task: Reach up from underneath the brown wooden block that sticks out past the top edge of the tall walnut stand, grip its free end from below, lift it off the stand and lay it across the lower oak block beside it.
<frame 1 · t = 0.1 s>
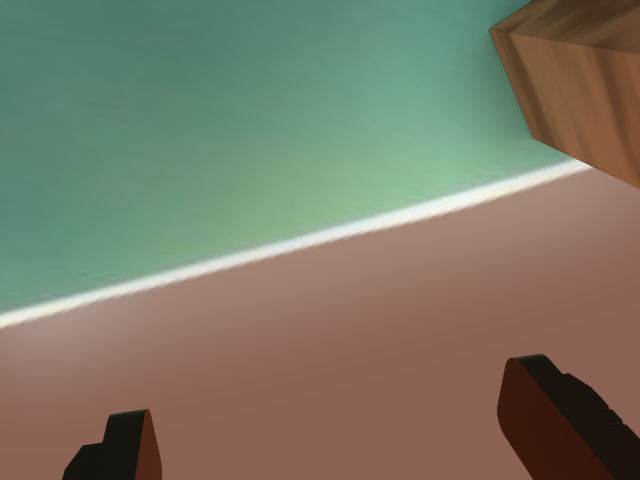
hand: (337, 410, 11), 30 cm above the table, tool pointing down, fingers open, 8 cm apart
low oak block: (567, 50, 40), on the table
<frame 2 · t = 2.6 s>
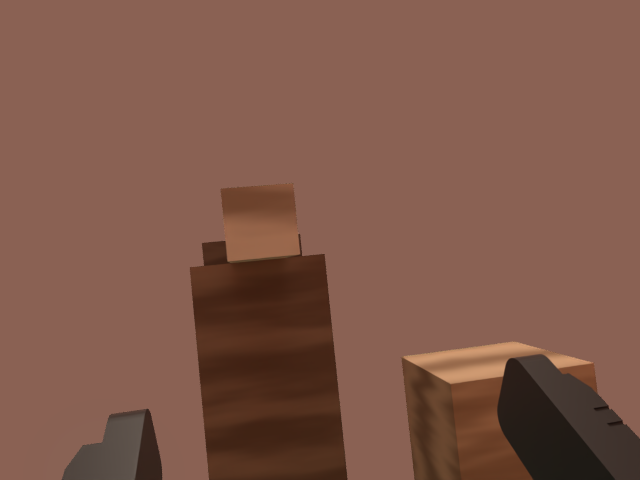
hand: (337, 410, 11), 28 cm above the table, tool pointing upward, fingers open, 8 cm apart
brown wooden block: (257, 260, 40), point 32 cm above the table, touching tall walnut stand
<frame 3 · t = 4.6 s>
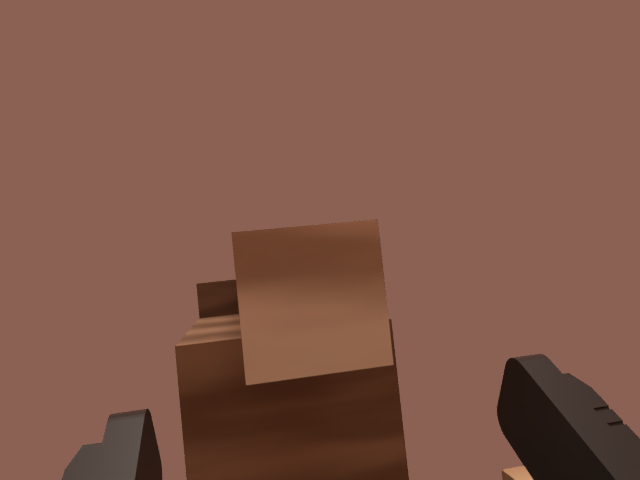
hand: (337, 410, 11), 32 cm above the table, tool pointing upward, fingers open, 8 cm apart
brown wooden block: (283, 327, 25), point 32 cm above the table, touching tall walnut stand
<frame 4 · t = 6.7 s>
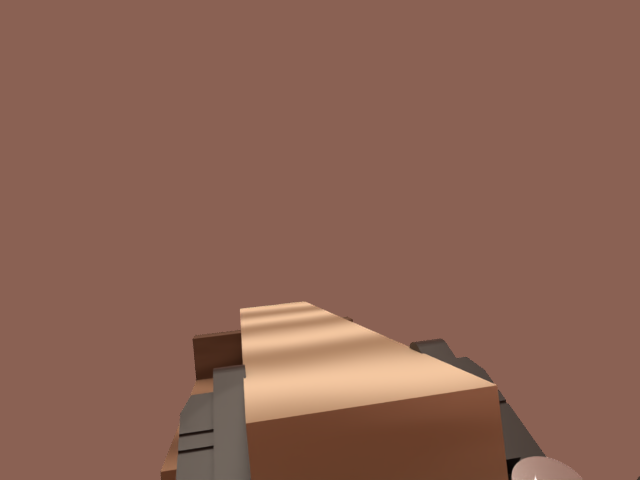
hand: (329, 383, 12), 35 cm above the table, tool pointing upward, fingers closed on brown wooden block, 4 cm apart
brown wooden block: (303, 429, 19), point 32 cm above the table, touching gripper, tall walnut stand
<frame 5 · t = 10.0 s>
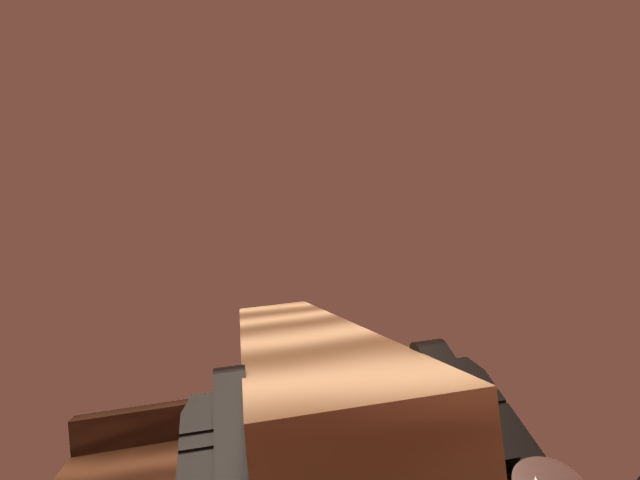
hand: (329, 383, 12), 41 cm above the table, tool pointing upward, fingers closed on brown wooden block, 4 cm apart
brown wooden block: (303, 429, 19), point 38 cm above the table, touching gripper
when the fingers open (27 cm above the table, at t = 13.7 s): brown wooden block stays where it is, resting on low oak block.
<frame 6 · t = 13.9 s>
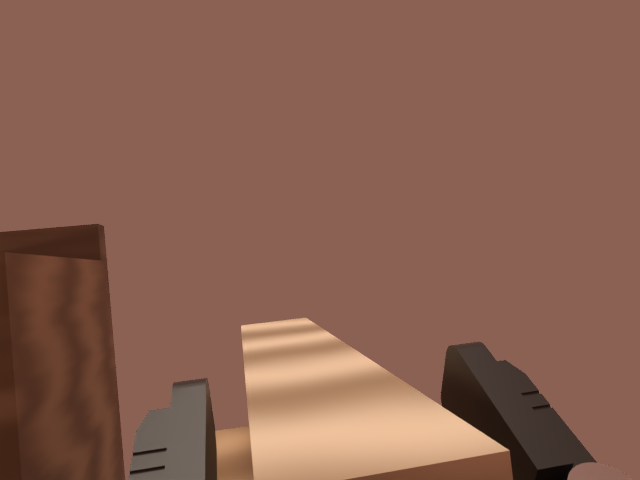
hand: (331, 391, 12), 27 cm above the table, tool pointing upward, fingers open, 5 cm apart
brown wooden block: (306, 457, 19), point 23 cm above the table, touching low oak block
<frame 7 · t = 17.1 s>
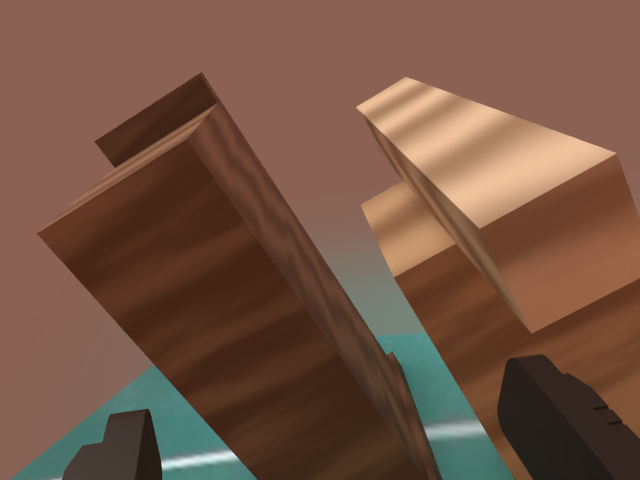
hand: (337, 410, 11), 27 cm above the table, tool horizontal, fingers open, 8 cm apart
low oak block: (596, 465, 35), on the table
tall walnut stand: (367, 451, 46), on the table
brown wooden block: (460, 187, 26), point 23 cm above the table, touching low oak block
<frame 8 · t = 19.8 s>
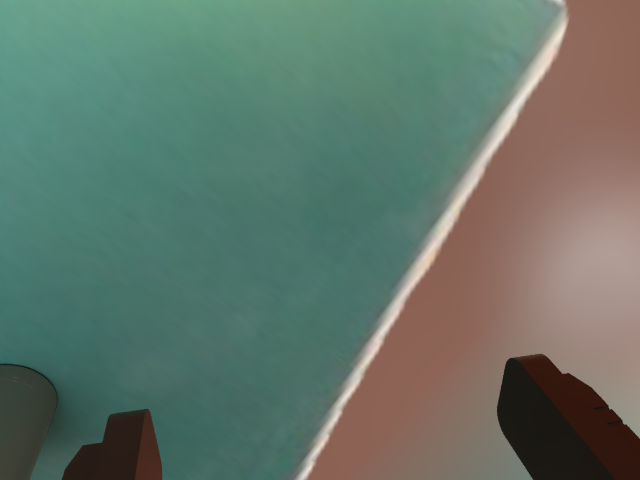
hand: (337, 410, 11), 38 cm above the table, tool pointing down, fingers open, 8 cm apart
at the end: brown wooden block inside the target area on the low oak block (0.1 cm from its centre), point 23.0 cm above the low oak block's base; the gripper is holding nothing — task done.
